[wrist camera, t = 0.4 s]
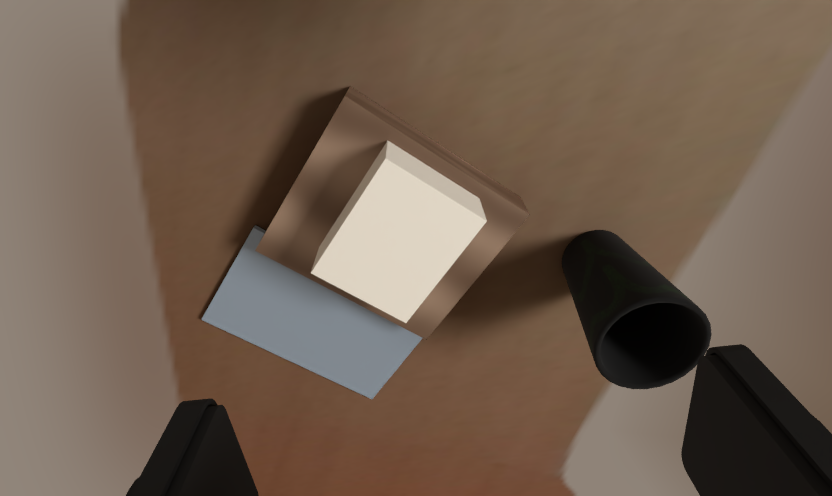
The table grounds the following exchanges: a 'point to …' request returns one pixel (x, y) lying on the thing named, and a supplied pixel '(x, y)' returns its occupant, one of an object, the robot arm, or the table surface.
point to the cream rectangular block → (398, 234)
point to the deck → (341, 175)
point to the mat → (307, 322)
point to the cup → (632, 313)
